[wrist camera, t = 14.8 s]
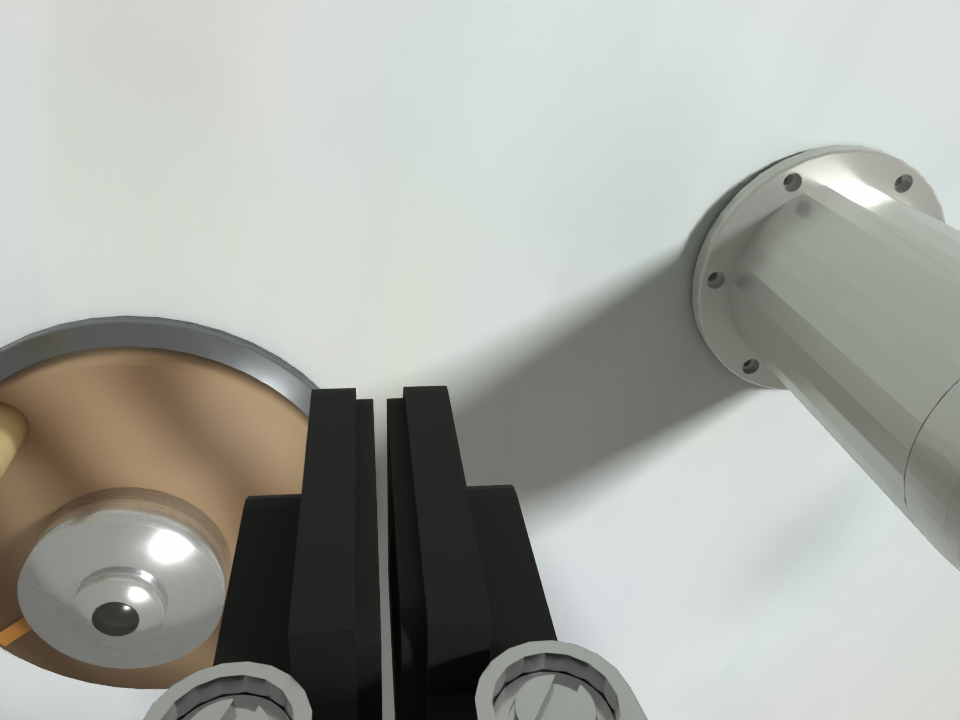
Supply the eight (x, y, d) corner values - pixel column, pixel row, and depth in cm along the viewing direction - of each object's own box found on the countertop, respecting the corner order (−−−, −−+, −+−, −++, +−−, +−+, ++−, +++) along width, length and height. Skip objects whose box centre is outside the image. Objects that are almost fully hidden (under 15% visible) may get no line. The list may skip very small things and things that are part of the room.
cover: (139, 454, 38) (117, 507, 34) (268, 570, 42) (260, 628, 38) (-6, 551, 39) (-41, 611, 36) (133, 654, 43) (113, 717, 40)
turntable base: (368, 312, 39) (369, 342, 36) (375, 646, 49) (376, 690, 46) (-139, 319, 36) (-182, 353, 33) (-19, 673, 46) (-44, 722, 43)
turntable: (163, 263, 35) (134, 315, 31) (428, 543, 44) (436, 615, 40) (-164, 497, 38) (-235, 576, 34) (146, 713, 48) (123, 798, 43)
